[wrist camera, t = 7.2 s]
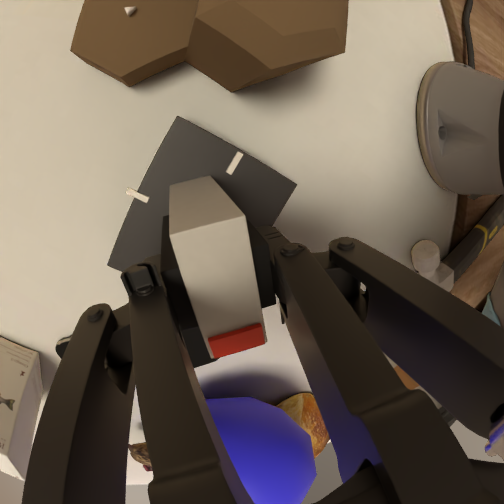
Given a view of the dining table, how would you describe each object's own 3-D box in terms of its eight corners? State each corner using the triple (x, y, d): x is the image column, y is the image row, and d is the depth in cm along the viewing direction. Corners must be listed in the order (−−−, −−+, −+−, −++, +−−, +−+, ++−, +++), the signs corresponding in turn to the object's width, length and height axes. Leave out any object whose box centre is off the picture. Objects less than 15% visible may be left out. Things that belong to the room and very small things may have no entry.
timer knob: (169, 185, 15) (168, 237, 8) (210, 175, 16) (247, 217, 8) (191, 268, 18) (212, 363, 10) (227, 258, 18) (269, 346, 11)
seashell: (216, 471, 29) (281, 439, 24) (215, 428, 36) (271, 383, 30) (306, 475, 35) (374, 440, 29) (299, 440, 41) (359, 400, 36)
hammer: (508, 146, 27) (404, 251, 27) (524, 151, 24) (425, 264, 24) (509, 212, 34) (414, 319, 34) (522, 219, 31) (429, 333, 31)
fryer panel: (168, 114, 16) (168, 110, 13) (286, 180, 20) (305, 189, 17) (107, 243, 18) (98, 263, 16) (220, 289, 22) (229, 312, 20)
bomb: (148, 390, 29) (218, 473, 31) (101, 481, 14) (210, 554, 16) (273, 346, 28) (323, 442, 31) (294, 454, 13) (350, 529, 15)
